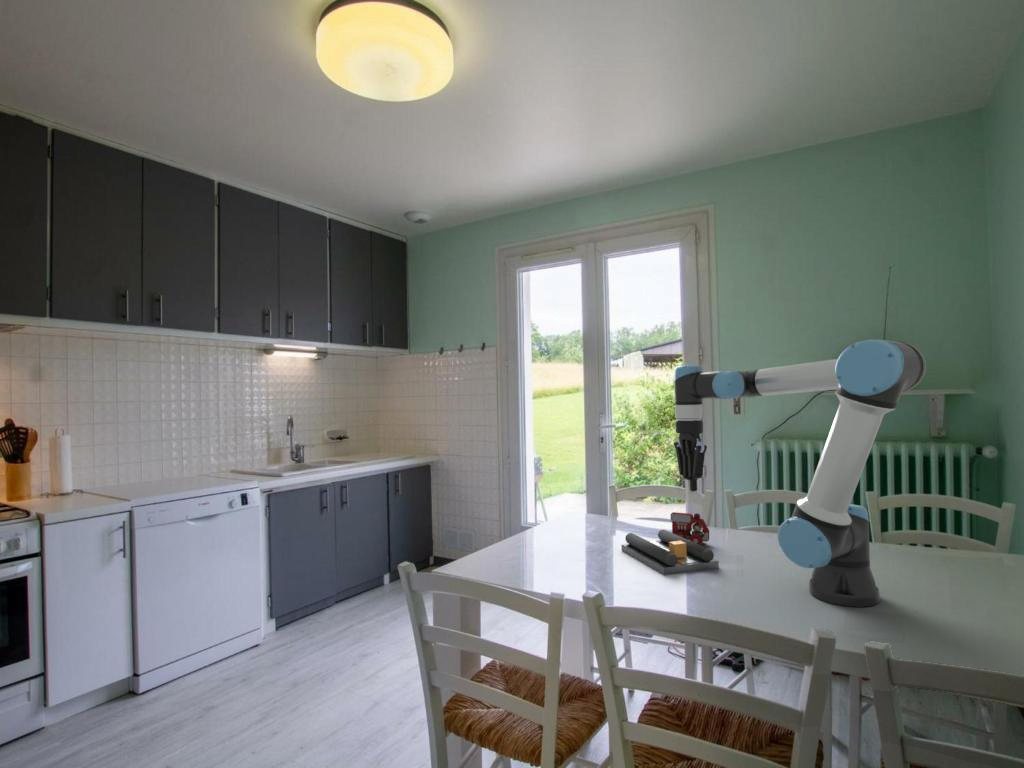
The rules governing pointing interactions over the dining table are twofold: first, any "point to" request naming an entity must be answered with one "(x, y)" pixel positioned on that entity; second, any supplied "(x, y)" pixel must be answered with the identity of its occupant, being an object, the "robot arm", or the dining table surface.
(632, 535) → the dark grey cylinder rod
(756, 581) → the dining table surface
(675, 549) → the tan cardboard-colored block
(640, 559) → the panel
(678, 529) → the toy fire truck
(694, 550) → the dark grey cylindrical rod
